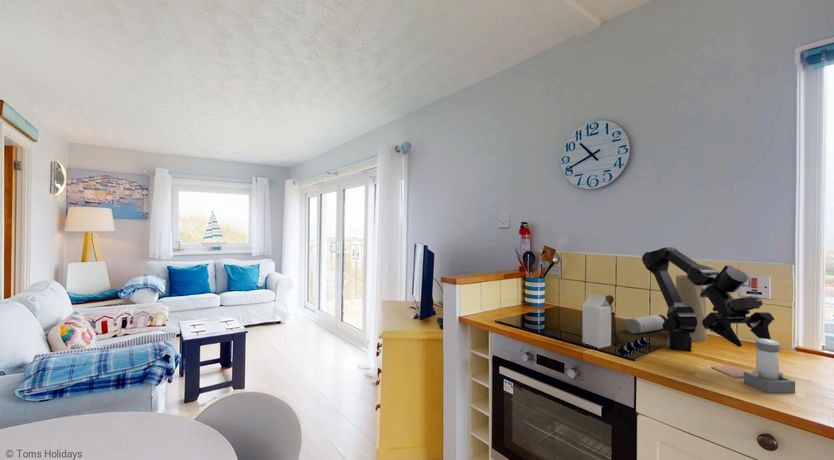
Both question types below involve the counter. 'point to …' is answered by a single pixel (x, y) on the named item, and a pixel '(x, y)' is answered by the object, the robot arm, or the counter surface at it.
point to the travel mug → (645, 324)
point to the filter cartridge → (767, 359)
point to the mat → (731, 371)
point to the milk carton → (597, 321)
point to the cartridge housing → (770, 383)
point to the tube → (693, 304)
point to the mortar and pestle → (612, 321)
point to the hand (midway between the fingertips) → (755, 346)
